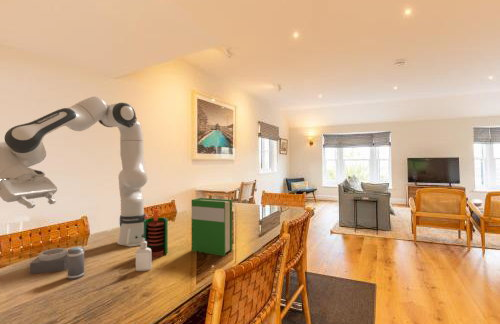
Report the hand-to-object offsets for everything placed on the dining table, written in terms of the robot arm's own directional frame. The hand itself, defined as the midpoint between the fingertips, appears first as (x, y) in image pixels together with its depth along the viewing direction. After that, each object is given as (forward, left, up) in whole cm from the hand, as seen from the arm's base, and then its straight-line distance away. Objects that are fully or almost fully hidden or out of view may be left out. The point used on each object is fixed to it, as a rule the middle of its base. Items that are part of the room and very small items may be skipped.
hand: (43, 205), depth 97 cm
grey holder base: (0, -9, -26) cm, 27 cm away
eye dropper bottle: (-35, +6, -26) cm, 44 cm away
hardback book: (-64, -7, -26) cm, 69 cm away
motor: (-39, -11, -26) cm, 48 cm away
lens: (-12, +5, -26) cm, 29 cm away
